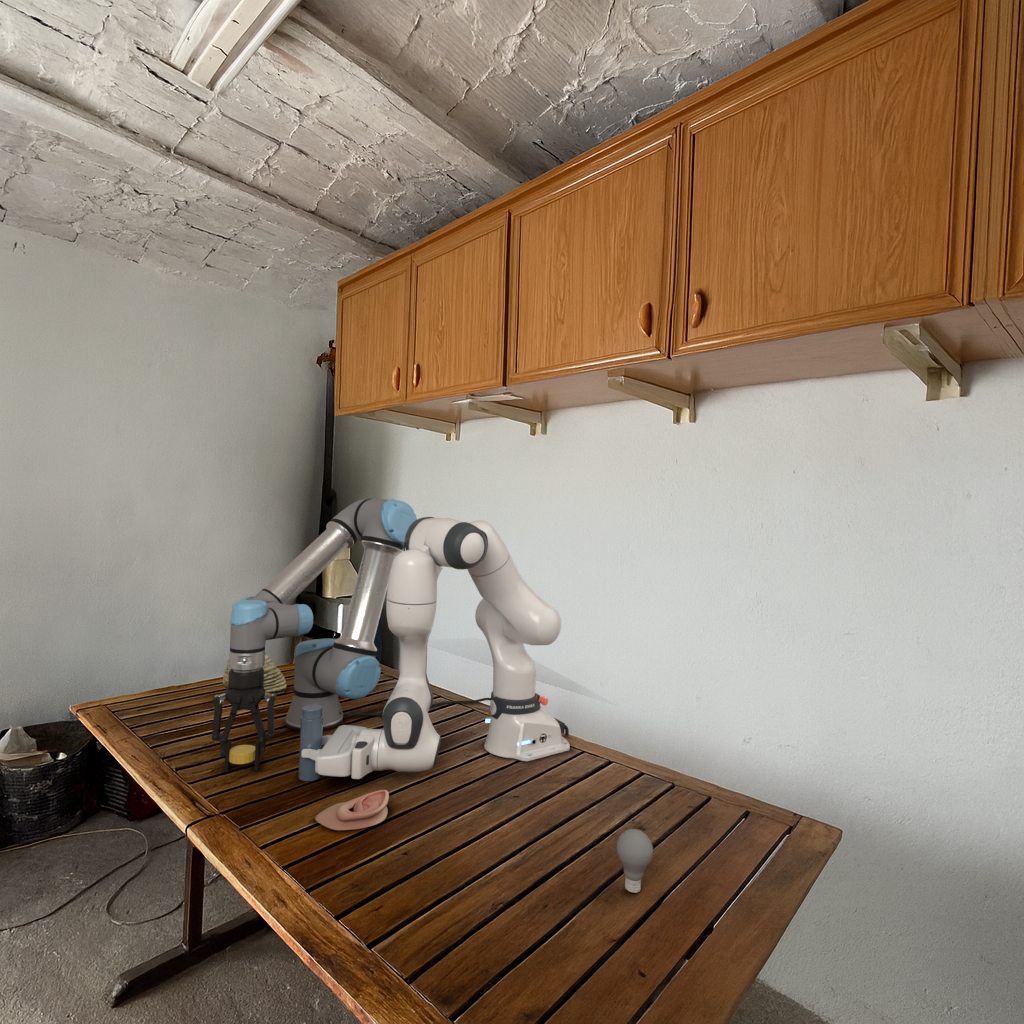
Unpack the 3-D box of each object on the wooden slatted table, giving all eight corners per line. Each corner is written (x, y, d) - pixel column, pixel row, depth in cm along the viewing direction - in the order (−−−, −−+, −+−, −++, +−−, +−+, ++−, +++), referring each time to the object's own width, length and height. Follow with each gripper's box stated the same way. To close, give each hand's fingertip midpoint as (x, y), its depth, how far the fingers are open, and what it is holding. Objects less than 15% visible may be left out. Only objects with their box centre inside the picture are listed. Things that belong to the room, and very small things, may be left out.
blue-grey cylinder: (294, 779, 141) (296, 709, 141) (305, 770, 146) (308, 702, 146) (314, 782, 140) (316, 712, 140) (324, 773, 145) (327, 705, 145)
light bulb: (610, 879, 108) (613, 822, 108) (644, 879, 109) (647, 822, 109) (619, 902, 102) (622, 840, 102) (655, 901, 103) (658, 840, 103)
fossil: (218, 695, 195) (220, 647, 195) (278, 685, 208) (279, 640, 207) (228, 703, 189) (230, 653, 188) (289, 692, 201) (290, 645, 201)
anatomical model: (307, 805, 121) (336, 780, 133) (306, 826, 121) (335, 798, 133) (372, 815, 119) (395, 788, 130) (371, 836, 119) (394, 807, 130)
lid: (224, 764, 142) (225, 754, 142) (233, 754, 148) (234, 744, 148) (251, 764, 143) (251, 754, 143) (259, 754, 148) (259, 744, 148)
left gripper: (198, 673, 139) (193, 778, 140) (287, 672, 144) (283, 773, 144) (206, 664, 146) (202, 764, 147) (291, 663, 151) (286, 760, 151)
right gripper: (378, 719, 153) (320, 717, 153) (358, 753, 133) (292, 750, 133) (377, 745, 153) (319, 743, 153) (357, 783, 133) (291, 780, 133)
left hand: (242, 768), depth 145 cm, fingers closed on lid, 6 cm apart
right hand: (306, 746), depth 143 cm, fingers closed on blue-grey cylinder, 5 cm apart
